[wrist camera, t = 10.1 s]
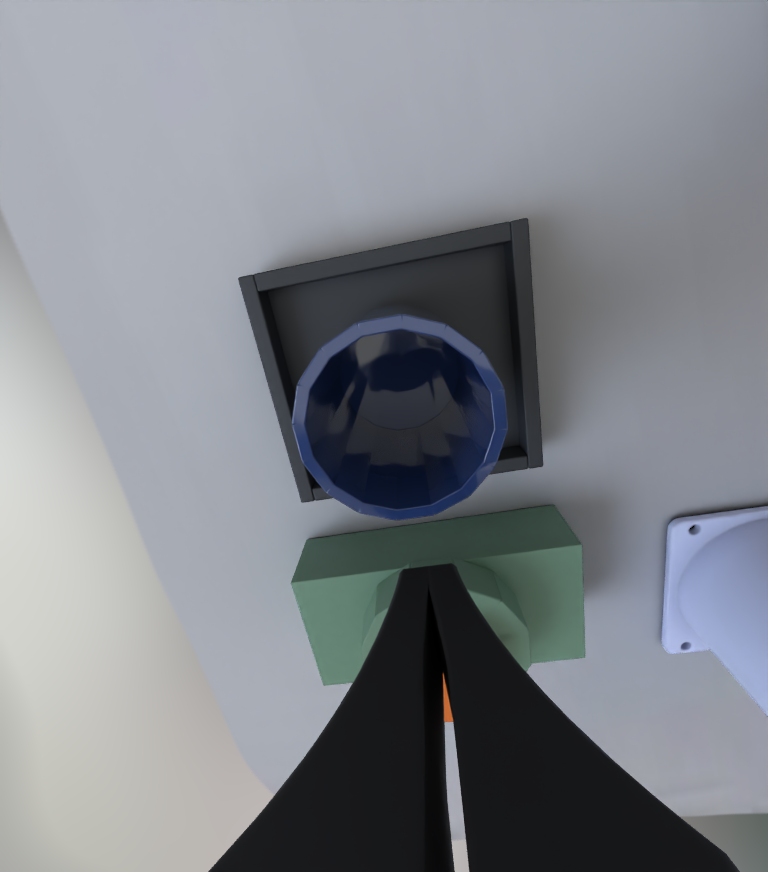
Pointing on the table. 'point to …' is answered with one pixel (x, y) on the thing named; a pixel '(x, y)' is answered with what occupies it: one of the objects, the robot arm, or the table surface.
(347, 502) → the cup
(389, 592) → the green button base
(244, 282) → the tray
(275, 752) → the table surface
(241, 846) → the robot arm
